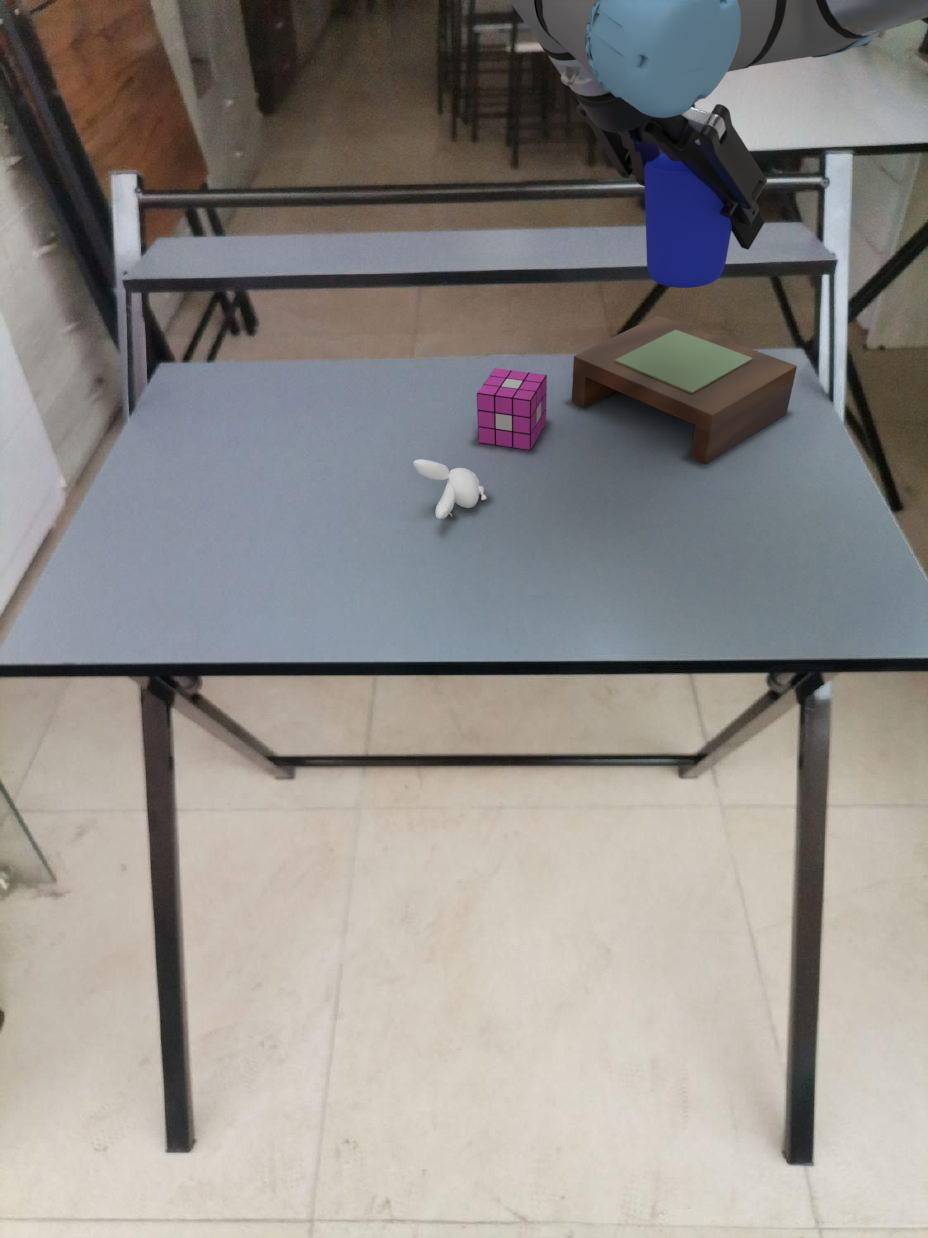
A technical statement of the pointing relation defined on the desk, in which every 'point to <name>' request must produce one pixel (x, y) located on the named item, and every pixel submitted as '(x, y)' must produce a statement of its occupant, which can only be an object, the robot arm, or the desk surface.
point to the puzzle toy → (512, 408)
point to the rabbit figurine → (452, 486)
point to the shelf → (689, 381)
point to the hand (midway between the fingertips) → (718, 225)
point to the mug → (683, 226)
